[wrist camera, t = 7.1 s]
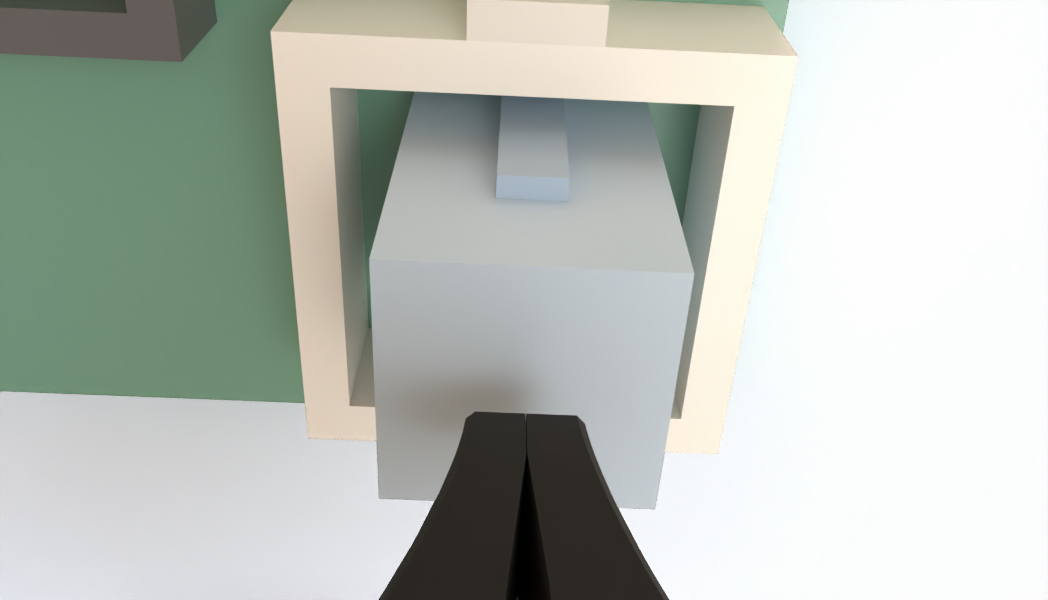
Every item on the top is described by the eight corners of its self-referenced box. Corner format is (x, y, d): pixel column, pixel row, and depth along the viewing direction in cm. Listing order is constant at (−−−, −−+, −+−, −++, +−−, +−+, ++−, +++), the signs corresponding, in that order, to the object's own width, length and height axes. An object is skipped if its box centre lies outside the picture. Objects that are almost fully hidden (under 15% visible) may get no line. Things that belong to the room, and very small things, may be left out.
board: (702, 390, 22) (709, 418, 21) (-81, 358, 22) (-105, 387, 21) (812, -216, 15) (829, -209, 15) (-302, -275, 15) (-351, -271, 14)
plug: (622, 290, 19) (654, 509, 14) (418, 281, 19) (379, 499, 14) (647, 76, 17) (698, 248, 12) (416, 65, 17) (367, 234, 12)
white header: (698, 373, 20) (717, 454, 18) (331, 358, 20) (308, 438, 18) (770, -31, 16) (806, 15, 14) (300, -55, 16) (266, -12, 14)
